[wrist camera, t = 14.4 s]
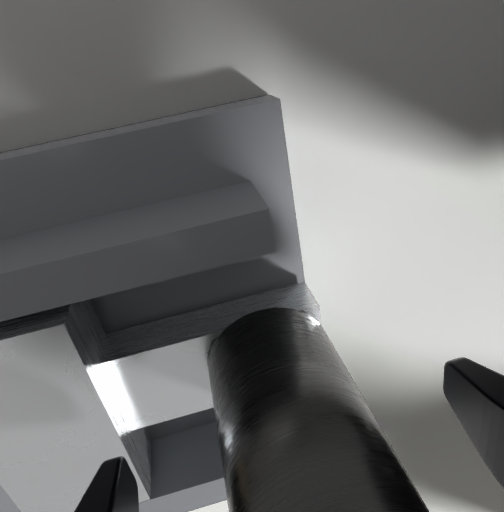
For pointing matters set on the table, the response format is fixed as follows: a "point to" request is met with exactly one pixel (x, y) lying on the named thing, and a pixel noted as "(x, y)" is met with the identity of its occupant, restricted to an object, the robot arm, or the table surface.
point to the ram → (194, 406)
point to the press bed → (154, 244)
